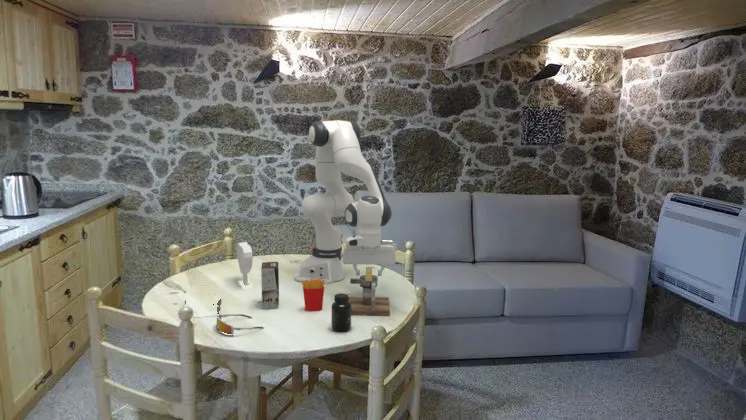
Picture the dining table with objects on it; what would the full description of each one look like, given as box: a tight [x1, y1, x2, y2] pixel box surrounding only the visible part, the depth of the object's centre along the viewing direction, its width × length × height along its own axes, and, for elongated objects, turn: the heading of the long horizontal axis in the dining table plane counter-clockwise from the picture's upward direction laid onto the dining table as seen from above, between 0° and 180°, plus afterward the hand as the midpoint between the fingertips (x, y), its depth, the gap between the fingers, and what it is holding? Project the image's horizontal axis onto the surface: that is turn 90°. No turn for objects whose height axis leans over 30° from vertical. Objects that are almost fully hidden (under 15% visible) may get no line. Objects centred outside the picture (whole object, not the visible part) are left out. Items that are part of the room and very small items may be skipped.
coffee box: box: [260, 261, 280, 310], centre depth 192 cm, size 9×6×16 cm
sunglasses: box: [216, 313, 264, 335], centre depth 172 cm, size 14×15×5 cm
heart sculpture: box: [236, 241, 253, 286], centre depth 214 cm, size 16×5×18 cm, turn 26°
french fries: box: [301, 279, 325, 312], centre depth 188 cm, size 8×4×12 cm, turn 99°
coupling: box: [349, 266, 379, 289], centre depth 189 cm, size 9×10×6 cm
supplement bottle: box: [330, 293, 352, 333], centre depth 171 cm, size 7×7×12 cm
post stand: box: [348, 282, 391, 317], centre depth 190 cm, size 14×16×12 cm
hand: (368, 275), depth 189 cm, fingers open, 7 cm apart
